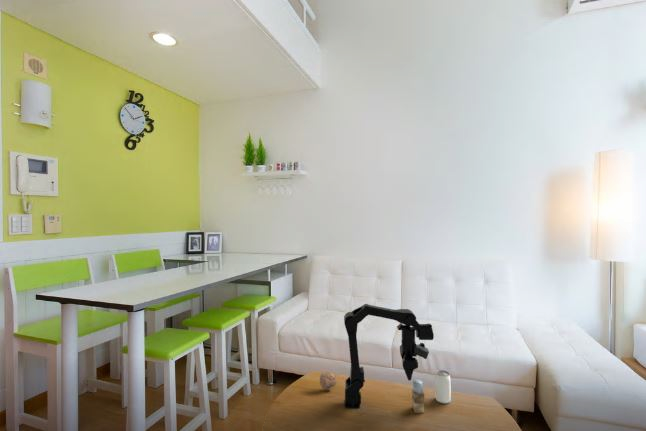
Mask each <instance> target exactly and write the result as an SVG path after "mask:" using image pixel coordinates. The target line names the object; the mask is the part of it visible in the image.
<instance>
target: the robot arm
mask: <svg viewBox="0 0 646 431" xmlns="http://www.w3.org/2000/svg"><path fill="white" fill-rule="evenodd" d="M368 316H372V317H378V318H383V319H388V320H393V321H395V322H398V323H399V324H398V325H397V326H396V329H397V330H398V331H401V345H400V346H399V352H400V358H401V361H402V362H401V364H402V368H403V371H404V373H405V376H406V378H407V380H408V381H412V378H413V377H412V376H413V374H414V371H415V370H417V369H418V368H419V363H418V362H419V361H418V359H417V358H416V357H417V356H419V358H420V357H421V358H423V359H425V360H427V359H428V356H429V354H430V352H429V351H430V350H429V349H428V348H427V347H426V345H425V343H423V342H420V343H419V344H418V343H417V344H416V338H418V340H419V341H433V340H434V338H435V336H434V331H433V330H434V329H433V325H432V324H431V323H419V322H418V321H417V316H416V315H415V314H414V312H413V311H412V310H411V309H410V308H409V309H408V308H400V309H399V308H398V309H391V308H387V307H382V306H378V305H377V306H376V305H371V304H368V303H365V304H363V305H361V306H360V307H359V306H358V307H357V308H356V309H354V310H351V311H348V312H346V313H345V314H344V315H343V323H344V327H345V329H346V330H345V331H346V333H347V337H348V348H349V359H350V369H349V377H347V379H345V381H344V383H345V389H344V408H351V409H353V408H354V409H359V408H360V407H361V404H362V394H361V393H362V392H361V391H360V390H361V389H362V388H363V387H364V383H366V379H365V371H364V366H360V360H359V359H360V358H359V350H358V340H357V331H358V325H359V323H361V322H362V321H363V320H364V319H366V317H368Z"/></svg>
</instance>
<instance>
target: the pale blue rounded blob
mask: <svg viewBox="0 0 646 431" xmlns="http://www.w3.org/2000/svg"><path fill="white" fill-rule="evenodd" d="M412 389H413V391H414V392H415V393H418V394H421V393H423V392H424V382H423V380H421V379H413V380H412Z"/></svg>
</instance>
